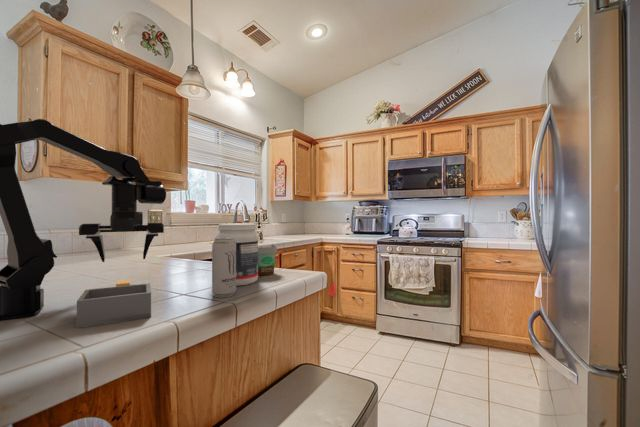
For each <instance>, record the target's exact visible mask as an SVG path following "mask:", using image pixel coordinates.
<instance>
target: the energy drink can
mask: <svg viewBox="0 0 640 427" xmlns="http://www.w3.org/2000/svg"><path fill="white" fill-rule="evenodd" d="M211 245H212V247H211V248H212V249H211V250H212V251H211V255H212V256H211V260H212V261H211V262H212V263H211V265H212V266H211V271H212V272H211V283H212V284H211V293H212V294H213V295H214V297H215V298H229V297H233V296H234V295H235V292H236V291H237V286H236V243H235V241H234V238H233V237H220V238H216V237H215V238H214V241H213V243H212V244H211Z"/></svg>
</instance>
